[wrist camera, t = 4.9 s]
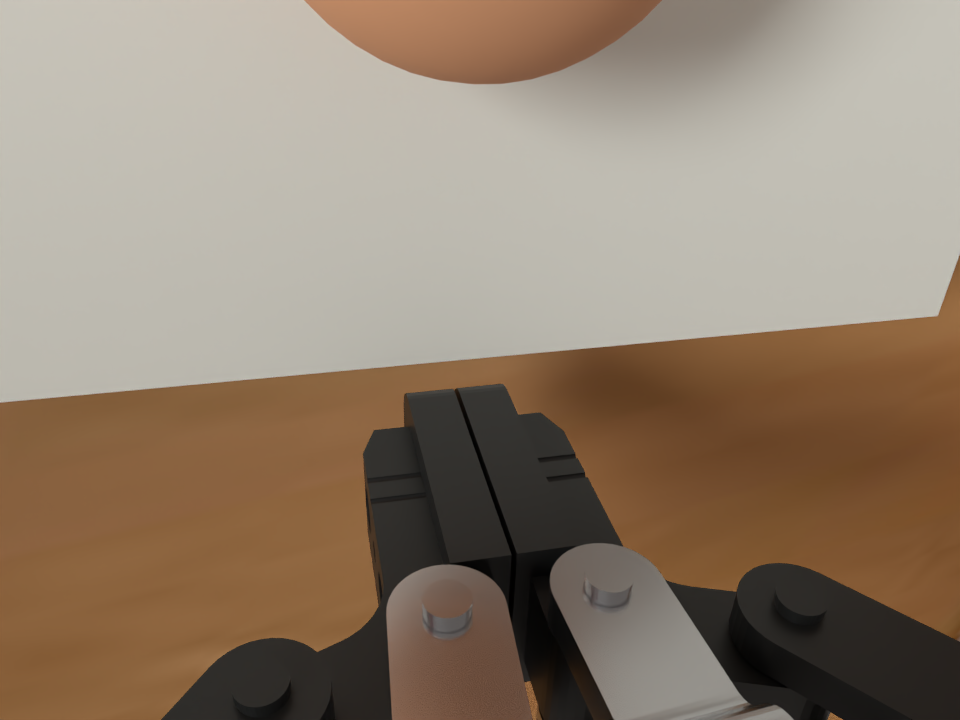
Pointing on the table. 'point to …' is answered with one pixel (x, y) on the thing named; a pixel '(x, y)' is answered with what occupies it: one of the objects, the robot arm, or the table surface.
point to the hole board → (457, 189)
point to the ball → (482, 34)
